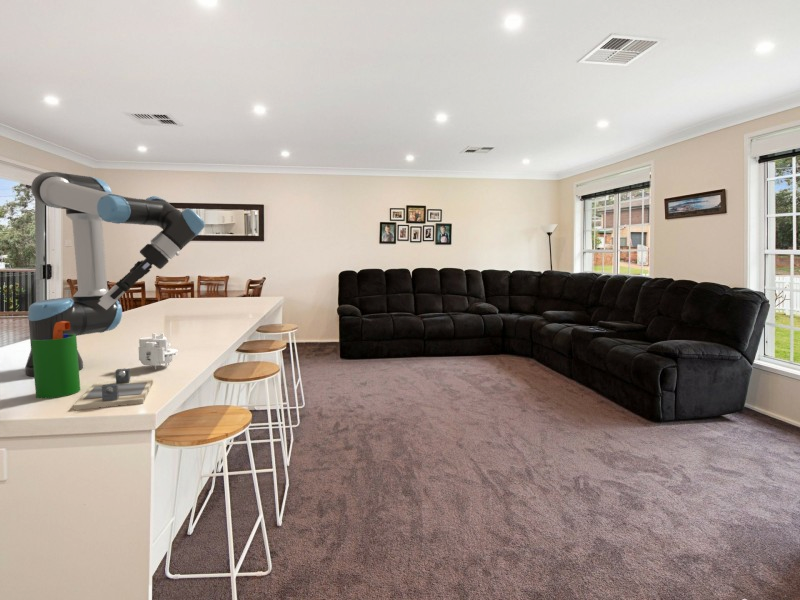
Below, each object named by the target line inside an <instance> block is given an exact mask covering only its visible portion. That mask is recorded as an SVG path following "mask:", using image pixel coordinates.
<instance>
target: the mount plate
mask: <svg viewBox="0 0 800 600" xmlns="http://www.w3.org/2000/svg"><path fill="white" fill-rule="evenodd" d="M111 383H113V384H116V380H115V381H107V382H106V381H103V382H94V383H93V384H92V385H91V386H90V387H89V389H87V390H86V391H85V393H84V394H83V395H82V396H81V397H80V398H79V399H78V400H77V401H76V402H75V403H74V405H73V411H78V410H89V409H100V408H99V407H101V408H108V406H111V407H119V406H118V405H121V406H128V405H127V404H132V405H140V404H144V402H145V400H146V398H147V396H148V394H149V392H150V390H151V388H152V386H153V384H154V378H143V379H130V382H129V383H122V384H118V393H119V398H118V400H114V401H103V400H102V386H103V385H107V384H111ZM106 406H107V407H106Z"/></svg>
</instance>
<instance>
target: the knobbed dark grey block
mask: <svg viewBox="0 0 800 600" xmlns="http://www.w3.org/2000/svg"><path fill="white" fill-rule="evenodd" d="M118 398H119V393H118V384H113V383H111V384H107V385H103V386H102V400H103V401H114V400H118Z"/></svg>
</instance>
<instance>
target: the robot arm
mask: <svg viewBox="0 0 800 600" xmlns="http://www.w3.org/2000/svg"><path fill="white" fill-rule="evenodd" d="M30 187H31V188H30V189H31V194H32V196H33V197H34V199H36V200H37V202H39V203H40V204H42V205H44V206H47V207H50V208H54V209H63V210H65V213H66V214H65V215H66V217H68V218H69V219H70V220H71V222H72V232H73V233H72V234H73V235H72V236H73V246H74V247H73V248H74V257H75V258H74V261H75V268H76V269H75V270H76V280H77V292H75V293H74V294H73V297H72V298H71V297H58V298H48V299H44V300H38V301H36V302H33V303H32V304H30V305H29V307H28V316H27V320H28V326H29V327H28V328H29V329H28V330H29V340H30V352H29V355H28V357H27V362H26V364H25V368H24V370H25V371H24V372H25V375H26V376H30V377H34V367H33V356H32V344H31V340H52V339H53V330H54V325H55V324H56V323H57V322H61V321H67V322H70V329H69V330H63V334H75V335H76V337H77V336H82V335H83V336H84V335H89V334H90V335H91V334H96V333H99V334H101V333H102V334H103V333H105V332H108V331H109V332H110V331H112V330H114V329H116V328H117V327H118V325H119V324H120V322H121V321H122V317H123V308H122V305H121V304H120V303H121V302H120V301H119V299H120V298H121V297H122V296H123V295H124V294H125V293H126V292H127V291H130V289H131V288H132V287H133V286H134V285H135V284H136V283H137V282H138V281H139V280H141V279H142V278H144V277H145V276H146V275H147V274H148V273H150V271H151V269H152V268H153V265H154V267H156V268H157V269H159V270H162V269H163V268H164V267H165V266H166V265H167V264H168V263H169V262H170V261H169V260H172V259H173V258H174V257H175V256H180V253H179V252H180V251H181V250H183V249H184V248H185V247H186V246H187V245H188V244H189V243H190V242H191V241H192V240H194V238H196V237H197V236H198V235H199V234H200V233H201V232H202V230H203V229H204V228H205V227H206V223H205V220H203V218H201V217H200V216H199V215H198V214H197V213H196V212H195V211H194V210H193V209H191V208H185V209H184V210H182V211H180V210H179V209H177V208H176V207H175V206H173V205H171V204H170V202H169V201H167V200H166V199H165V198H164V199H163V198H161V197H160V196H155V195H153V196H150V197H147V198H145V199H143V198H135V197H128V196H122V195H118V194H114V193H113V191H112V189H111V187H110V186H109V184H107V182H106V181H104V180H102V179H100V178H97V177H93V176H85V175H79V174H74V173H73V174H71V173H66V172H65V173H64V172H60V171H59V172H58V171H49V172H48V171H47V172H44V173H40V174H38V175H37V176H36V177H35V178H33V180H32V182H31V185H30ZM103 222H107V223H112V224H118V225H119V224H125V225H127V224H129V225H131V224H132V225H138V226H139V225H141V226H155V227H159V228H160V229H161V231H160V232H158V233H157V234H156V235H155V236H154V237H153V238H152V239H151V240H150V243H147V244H146V245H144V247H142V248H141V249H140V250H139V253H140V255H142V257H144V258H145V259H143V260H137V262H136V263H135V264H134V266H132V267H131V268H130V269H129V272H128V273H127V274H125V275H124V276H123V277H122V278H121V279H119V280H118V281H117V282H116V283H115V284H114V285H113V286H112V287H111V288H110V289H108V280H107V269H106V268H107V267H106V254H105V242H104V227H103ZM77 352H78V365H79V371H80V370H82V369H84V362H83V359H82V356H81V354H80V352H79V350H78V349H77Z"/></svg>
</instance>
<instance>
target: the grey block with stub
mask: <svg viewBox="0 0 800 600" xmlns="http://www.w3.org/2000/svg"><path fill="white" fill-rule="evenodd" d="M130 380H131V369H130V368H119V369H118V368H117V369H116V370H115V381H116V384H122V383H129V382H130Z"/></svg>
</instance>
